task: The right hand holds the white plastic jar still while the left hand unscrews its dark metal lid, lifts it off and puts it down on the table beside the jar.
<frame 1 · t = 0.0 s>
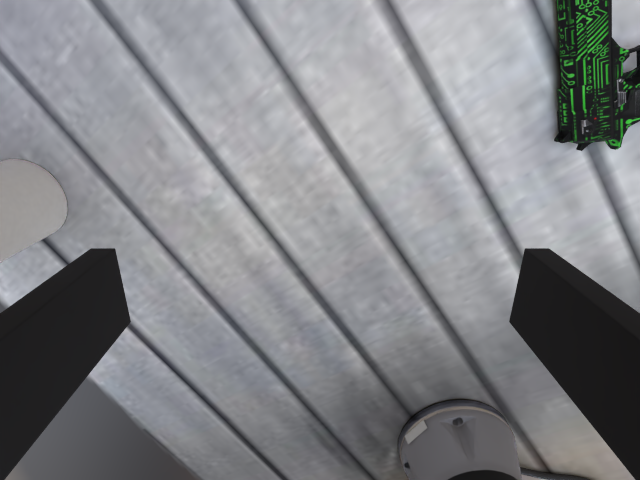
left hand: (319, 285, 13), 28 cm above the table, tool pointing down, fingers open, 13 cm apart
handgun: (622, 56, 35), on the table
jar: (26, 199, 41), on the table
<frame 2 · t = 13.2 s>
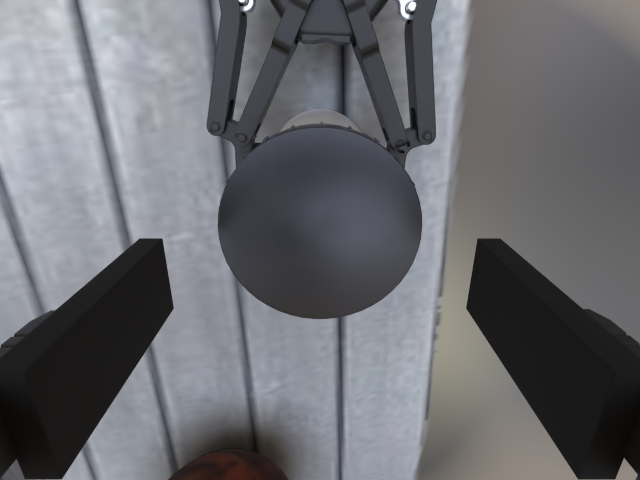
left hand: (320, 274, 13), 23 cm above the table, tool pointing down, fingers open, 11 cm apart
right hand: (317, 231, 31), fingers closed on jar, 8 cm apart
cat face balloon: (233, 472, 50), on the table
lid: (319, 229, 18), point 19 cm above the table, screwed on, not yet turned
jar: (319, 157, 35), on the table, touching right hand
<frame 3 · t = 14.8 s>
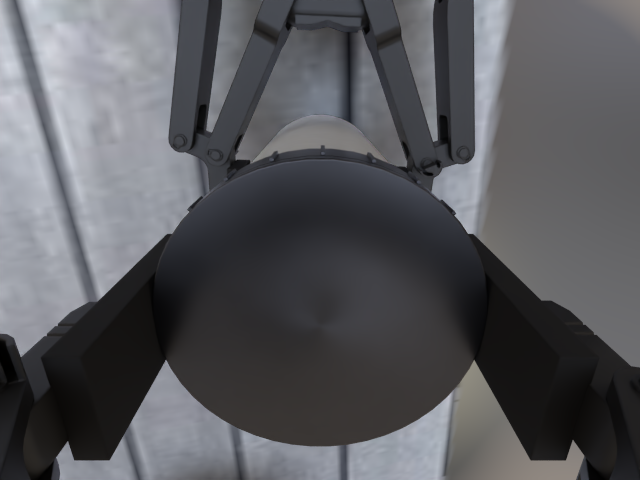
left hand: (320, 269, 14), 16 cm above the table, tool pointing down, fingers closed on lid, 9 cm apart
right hand: (316, 272, 24), fingers closed on jar, 8 cm apart
lid: (320, 318, 11), point 19 cm above the table, screwed on, not yet turned, touching left hand
jar: (320, 174, 28), on the table, touching right hand
when the left hand's fingers open (16 cm above the table, at t = 16.4 s): lid stays where it is, point 19 cm above the table.
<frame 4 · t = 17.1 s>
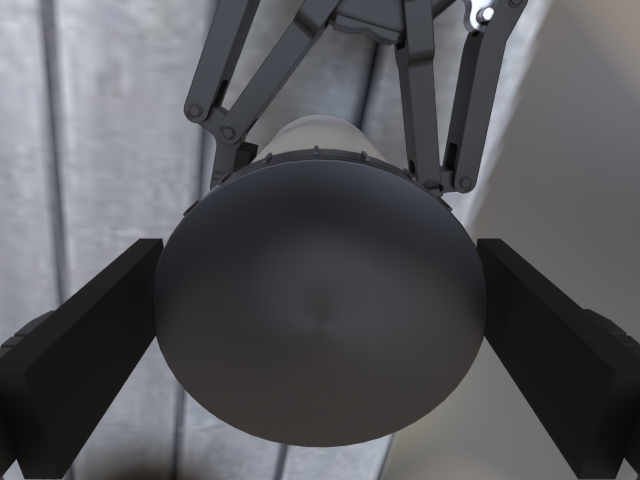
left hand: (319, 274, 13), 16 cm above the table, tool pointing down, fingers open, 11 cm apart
right hand: (301, 268, 24), fingers closed on jar, 8 cm apart
lid: (319, 319, 11), point 19 cm above the table, turned 108° so far, risen 0.3 cm, still on its thread
jar: (319, 174, 28), on the table, touching right hand
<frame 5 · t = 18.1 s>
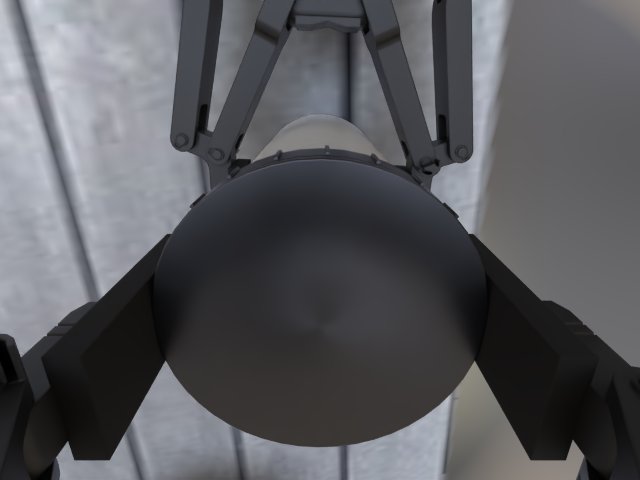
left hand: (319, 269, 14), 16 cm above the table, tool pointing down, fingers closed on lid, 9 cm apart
right hand: (317, 270, 24), fingers closed on jar, 8 cm apart
lid: (320, 318, 11), point 19 cm above the table, turned 108° so far, risen 0.3 cm, still on its thread, touching left hand
jar: (320, 174, 28), on the table, touching right hand
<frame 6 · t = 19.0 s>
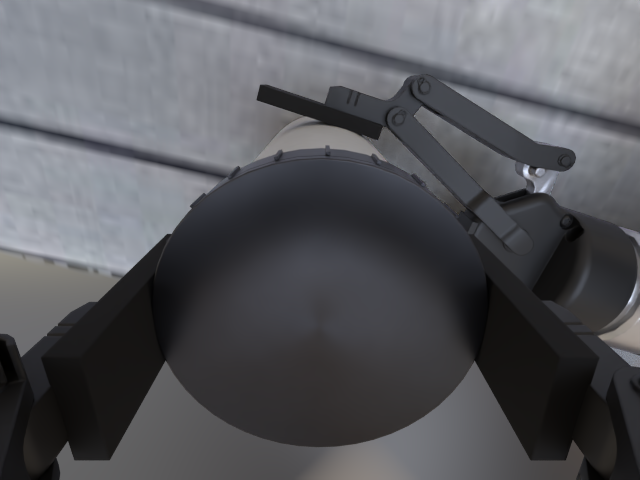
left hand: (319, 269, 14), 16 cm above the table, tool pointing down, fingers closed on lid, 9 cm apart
right hand: (242, 173, 22), fingers closed on jar, 8 cm apart
lid: (320, 318, 11), point 19 cm above the table, off its thread, touching left hand
jar: (320, 173, 29), on the table, touching right hand
when the left hand's fingers open (0 cm above the table, at t = 24.8 s): lid drops 2 cm, point 1 cm above the table.
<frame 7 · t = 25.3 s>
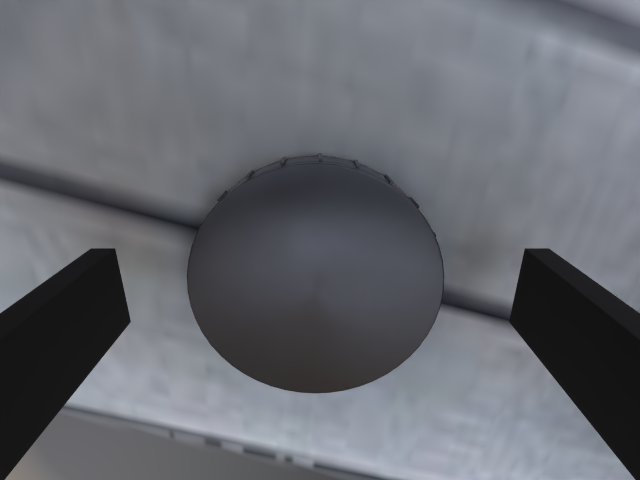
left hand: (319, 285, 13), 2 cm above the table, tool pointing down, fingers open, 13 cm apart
lid: (315, 287, 14), point 1 cm above the table, off its thread
when the right hand's fingers open (7 cm above the table, at t = 25.8 s): jar stays where it is, on the table.
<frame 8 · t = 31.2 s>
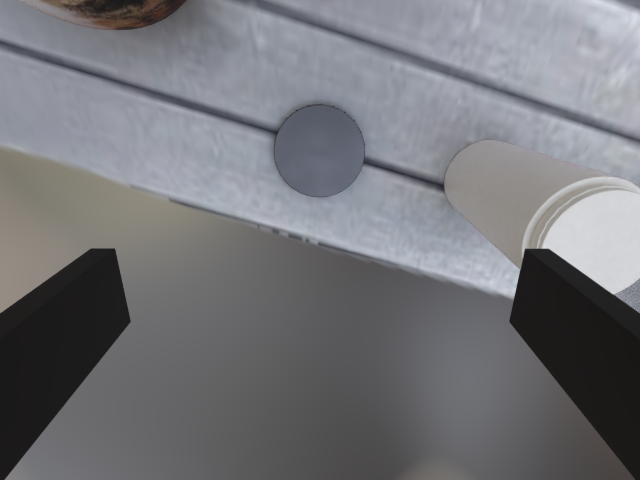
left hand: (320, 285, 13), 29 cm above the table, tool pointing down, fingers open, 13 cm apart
lid: (319, 152, 39), point 1 cm above the table, off its thread
jar: (483, 179, 41), on the table
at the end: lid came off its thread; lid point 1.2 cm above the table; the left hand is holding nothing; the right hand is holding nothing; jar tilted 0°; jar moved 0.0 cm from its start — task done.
